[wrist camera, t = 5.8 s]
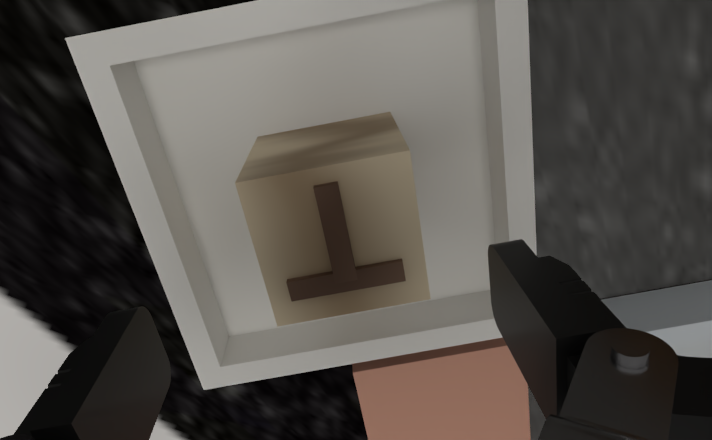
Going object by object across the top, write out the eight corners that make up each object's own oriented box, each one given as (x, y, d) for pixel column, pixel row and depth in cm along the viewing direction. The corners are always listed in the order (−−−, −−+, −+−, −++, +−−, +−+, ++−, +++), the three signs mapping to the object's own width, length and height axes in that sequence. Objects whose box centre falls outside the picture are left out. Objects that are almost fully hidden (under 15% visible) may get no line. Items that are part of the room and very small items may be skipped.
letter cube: (390, 111, 19) (410, 152, 14) (408, 231, 21) (431, 302, 16) (257, 136, 19) (233, 185, 14) (288, 253, 21) (276, 330, 16)
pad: (519, 331, 24) (525, 342, 23) (526, 452, 27) (531, 464, 27) (351, 361, 24) (352, 372, 23) (378, 477, 27) (380, 490, 27)
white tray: (499, -47, 17) (525, -53, 15) (517, 296, 23) (539, 330, 21) (100, 32, 18) (64, 38, 15) (216, 349, 24) (203, 389, 21)
